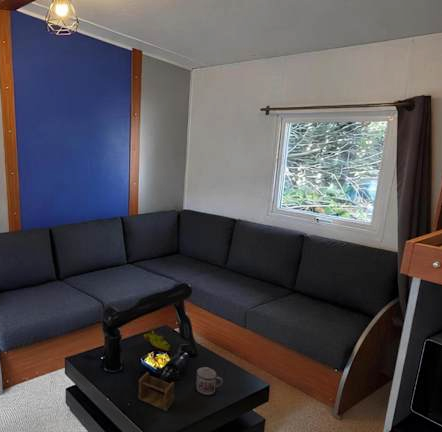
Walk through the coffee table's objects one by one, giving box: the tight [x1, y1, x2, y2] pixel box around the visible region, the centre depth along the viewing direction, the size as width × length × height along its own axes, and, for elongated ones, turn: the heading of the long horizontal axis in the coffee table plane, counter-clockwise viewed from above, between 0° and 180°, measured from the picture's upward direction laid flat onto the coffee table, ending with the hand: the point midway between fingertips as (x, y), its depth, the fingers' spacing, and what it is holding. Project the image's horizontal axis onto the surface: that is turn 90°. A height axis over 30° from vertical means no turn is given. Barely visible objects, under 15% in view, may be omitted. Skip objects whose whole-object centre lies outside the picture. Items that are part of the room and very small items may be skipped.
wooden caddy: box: [137, 371, 176, 412], centre depth 183 cm, size 14×8×10 cm, turn 53°
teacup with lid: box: [195, 366, 223, 396], centre depth 190 cm, size 12×9×12 cm
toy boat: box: [143, 330, 171, 352], centre depth 228 cm, size 6×18×10 cm, turn 34°
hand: (160, 382), depth 186 cm, fingers closed
